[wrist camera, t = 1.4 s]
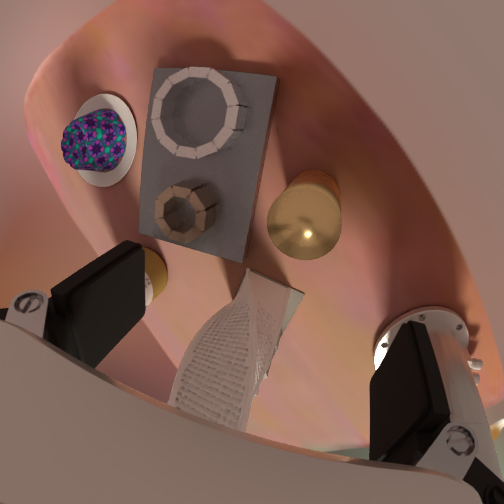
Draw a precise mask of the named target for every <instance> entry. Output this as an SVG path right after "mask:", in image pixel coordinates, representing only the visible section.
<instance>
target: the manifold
mask: <svg viewBox="0 0 504 504" xmlns="http://www.w3.org/2000/svg"><path fill="white" fill-rule="evenodd" d="M279 81H280V79H279V78H278V77H275V76H269V75H261V74H254V73H245V72H235V71H224V70H215V69H213V68H208V67H189V68H188V67H186V68H155V70H154V75H153V81H152V87H151V94H150V100H149V107H148V115H147V123H146V131H145V140H144V149H143V160H142V172H141V186H140V204H139V231H138V233H140V234H143V235H147V236H150V237H153V238H157V239H160V240H163V241H167V242H170V243H174V244H177V245H180V246H184V247H187V248H191V249H194V250H197V251H201V252H204V253H208V254H211V255H215V256H218V257H221V258H225V259H228V260H232V261H235V262H239V263H243V262H244V260H245V259H246V257H247V251H248V246H249V240H250V235H251V230H252V224H253V219H254V214H255V208H256V203H257V198H258V192H259V187H260V182H261V176H262V171H263V166H264V160H265V155H266V150H267V144H268V139H269V134H270V129H271V123H272V118H273V113H274V108H275V102H276V97H277V92H278V87H279Z"/></svg>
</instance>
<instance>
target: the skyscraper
mask: <svg viewBox="0 0 504 504" xmlns="http://www.w3.org/2000/svg"><path fill="white" fill-rule="evenodd" d="M303 296H304V293H302V292H300V291H298V290H295V289H293V288H291V287H289V286H287V285H284V284H282V283H280V282H278V281H276V280H273V279H271V278H269V277H267V276H265V275H262V274H260V273H258V272H256V271H254V270H251V269H250V268H246V271H245V274H244V276H243V279H242V281H241V284H240V286H239V289H238V291H237V294H236V296H235V299H234V300H233V301H232V302H230V303H229V304H227V305H226V306H225V307H223V308H222V309H221V310H219V311H218V312H217V313H216V314H215V315H213V316H212V317H211V318H210V319H209V320H208V321H207V322H206V323H205V324H204V325H203V326H202V328H201V329H200V330H199V331H198V332H197V334H196V335H195V337H194V338H193V340H192V341H191V343H190V345H189V346H188V348H187V350H186V352H185V354H184V356H183V358H182V361H181V363H180V365H179V368H178V371H177V374H176V377H175V380H174V383H173V387H172V390H171V394H170V398H169V400H168V402H167V404H168V405H170V406H173V407H175V408H177V409H180V410H182V411H185V412H187V413H190V414H192V415H195V416H198V417H200V418H203V419H206V420H209V421H211V422H214V423H217V424H220V425H223V426H226V427H229V428H232V429H235V430H238V431H241V432H244V433H245V430H246V426H247V422H248V417H249V413H250V408H251V403H252V401H253V399H254V397H255V395H257V394H258V390H259V387H260V385H261V383H262V380H263V379H265V378H267V376H268V372H269V368H270V364H271V360H272V358H273V356H274V354H275V352H277V350H278V345H279V340H280V337H281V336H282V334H283V332H284V330H285V329H286V327H287V325H288V323H289V322H290V320H291V318H292V316H293V314H294V313H295V311H296V309H297V307H298V305H299V304H300V302H301V300H302V298H303Z"/></svg>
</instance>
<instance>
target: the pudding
mask: <svg viewBox="0 0 504 504" xmlns="http://www.w3.org/2000/svg"><path fill="white" fill-rule="evenodd" d="M102 108H108V109H111V110H109V111H106V112H105V111H104V110H103V109H102ZM112 110H113V111H112ZM117 114H119V116H120V117H121V118H122V120H123V122H124V124H123V123H122V122H120V121H119V120H118V115H117ZM124 125H125V126H124ZM125 128H126V130H125ZM126 132H127V146H126V145H125V142H124V140H123V139H124V137H125V135H126ZM136 144H137V132H136V126H135V121H134V118H133V115H132V113H131V111H130V109H129V108H128V106H127V105H126V104H125V103H124V102H123V101H122V100H121V99H120V98H118V97H116V96H114V95H111V94H99V95H96V96H94V97H92V98H90V99H89V100H87V101H86V102H85V103H84V104H83V105H82V106H81V107H80V109H79V110H78V112H77V114H76V116H75V118H74V120H73V121H72V122H71V123H70V125H69V126H67V127H66V128H65V130H64V132H63V139H62V141H61V149H62V151H63V157H64V160H65V161H66V163H69V164H70V166H71V167H72V168H74V169H76V170H77V171H78V173H79V174H80V175H81V176H82V178H83V179H84V180H86V181H87V182H88V183H90V184H92V185H94V186H98V187H108V186H111V185H113V184H115V183H117V182H118V181H120V180H121V179H122V178H123V177H124V176H125V174H126V173H127V172H128V170H129V168H130V166H131V164H132V162H133V159H134V156H135V151H136ZM125 147H126V151H125ZM124 152H125V154H124ZM123 154H124V156H123ZM122 156H123V158H122V160H121V162H120V163H119V165H118V166H117V167H116V168H115V166H116V165H117V162H118V158H120V157H122ZM113 168H115V169H113ZM104 169H106V170H111V169H113V170H111V171H109V172H104V173H102V172H97V171H103V170H104Z"/></svg>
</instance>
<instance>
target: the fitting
mask: <svg viewBox="0 0 504 504" xmlns="http://www.w3.org/2000/svg"><path fill="white" fill-rule="evenodd" d="M267 229H268V233H269V236H270V238H271V240H272V242H273V243H274V245H275V246H276V247H277V248H278V249H279V250H280V251H281V252H282V253H284V254H286V255H287V256H289V257H292V258H295V259H299V260H313V259H317V258H320V257H322V256H324V255H325V254H327V253H328V252H330V251H331V250H332V249H333V248H334V246H335V245H336V243H337V241H338V240H339V237H340V233H341V200H340V190H339V187H338V184H337V183H336V181H335V180H334V179H333V177H331V176H330V175H329V174H327V173H325V172H323V171H320V170H308V171H305V172H303V173H301V174H299V175H298V176H297V177H296V178H295V179H294V180H293V181H292V182H291V183H290V185H289V186H288V187H287V188H286V189H285V190H284V191H283V192H282V193H281V194H280V196H279V197H278V198H277V199H276V200H275V201H274V203H273V204H272V206H271V207H270V210H269V213H268V217H267Z"/></svg>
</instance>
